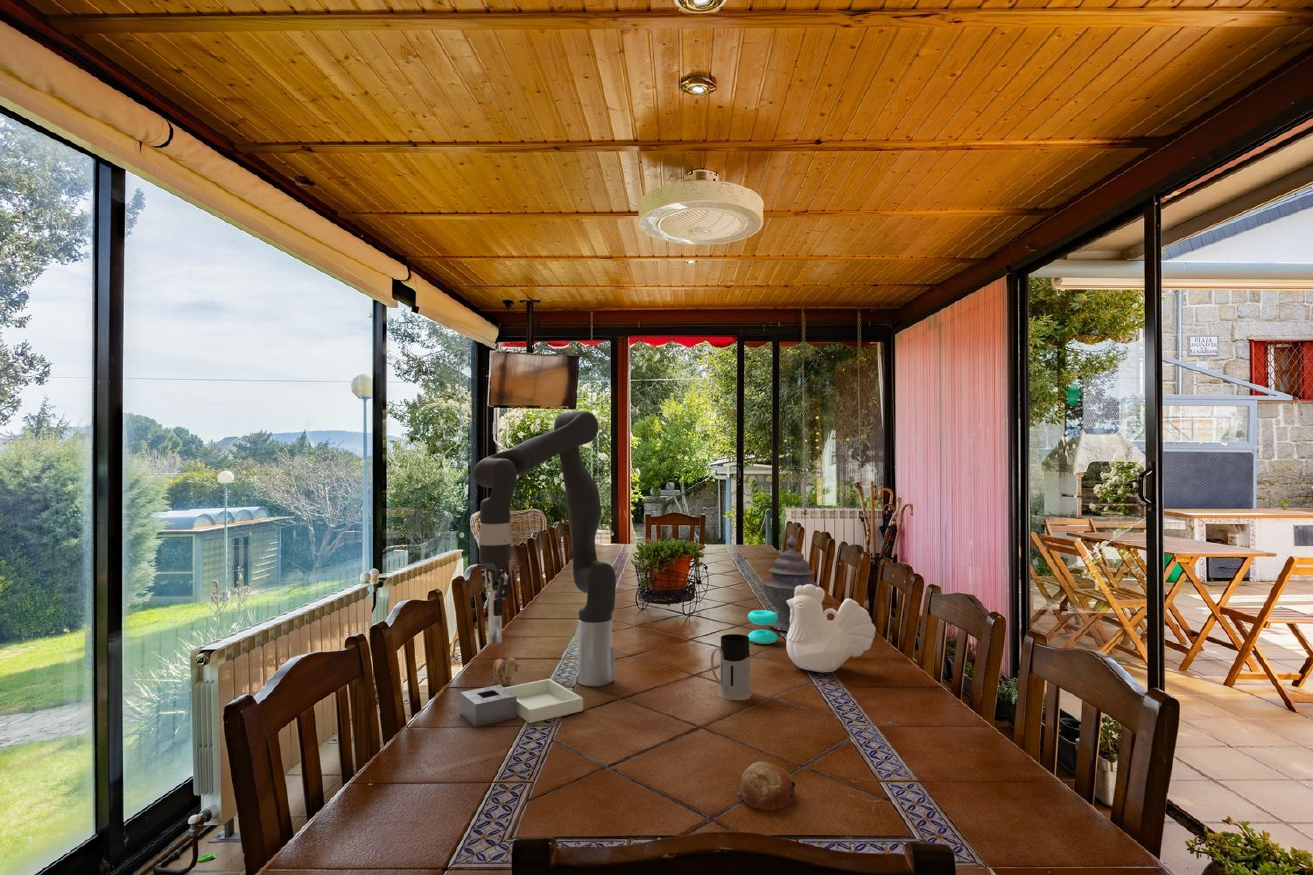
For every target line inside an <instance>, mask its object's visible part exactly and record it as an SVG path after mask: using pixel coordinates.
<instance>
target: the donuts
mask: <svg viewBox="0 0 1313 875" xmlns="http://www.w3.org/2000/svg"><path fill="white" fill-rule="evenodd" d="M747 618H748V620H749V621H750V623H752V624H754V625H761V626H769V625H770V624H773V623H775V622H776V621H777V619H778V613H776V612H774V611H772V610H766V609H757V610H752V611H750V612H749V613H748V615H747ZM747 636H748V637H749V640H750V641H754V642H761V643H766V642H774V641H776V640H777V639H779V637H778V635H777V633H775V632H774V631H773V630H770V629H755V630H752V631H750V632H749V633H748V635H747ZM750 641H749V642H750ZM777 641H778V640H777Z"/></svg>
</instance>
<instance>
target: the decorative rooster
mask: <svg viewBox="0 0 1313 875" xmlns="http://www.w3.org/2000/svg"><path fill="white" fill-rule="evenodd" d="M825 592H826V591H825V590H824V589H823V588H822V587H820V586H819V587H816V586H814V585H812V584H807V585H804V586H802V585H799V586H797V587H796V588H795V596H794V598H792V599H789V600H787V601H786V602H787V604H788V605H789V607H790V608H791V609H790V624H791V625H790V628H789V631H788V632H787V634H786V637H785V638H786V643H785V644H786V646H785V647H786V652H787V654H788V657H789V658H790V660H791V662H793V664H795V665H796V666H797V667H798V668H800V669H802V670H805V671H807V670H808V671H812V672H818V673H824V672H825V673H824V674H827V673H826V672H832V671H834V672H835V671H836V670H838V669H839V668H840V667H841V666H842V665H843V664H844V663H845V662H846V661H847V660H848V659H849V658H850V657H852V658H853V657H855V658H857V657H858V658H859V657H861V656H862V655H863V654H864V652H867V651H869V650H870V649H871V647H872V644H873V640H874V638H875V634H876V633H875V632H876V626H875V625H874V623H872V618H871V616H870V613H869V612H868V610H867V609H865V608H863V607H862V606H861V605H860V604H859V602H857V601H855V600H853V599H852V598H845V599H844V600H843V602H842V603H841V605H840V606H839V608H838V610H835V609H834V608H832V607H831V608H826V609H825V610H823V604H822V602H823V600H824V598H825V594H826V593H825ZM829 614H832V615H833V616H834V618H833V619H832V620H830V619H828V615H829ZM832 673H833V672H832Z"/></svg>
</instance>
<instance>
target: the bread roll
mask: <svg viewBox="0 0 1313 875" xmlns="http://www.w3.org/2000/svg"><path fill="white" fill-rule="evenodd" d="M795 786H797V785H796V782H795V780H793V777H792V776H791V775H790V773H789V772H787V771H786V770H785V769H784V768H782V767H781V766H778V765H776V764H772V763H769V762H766V761H765V762H763V761H756V762H754V763H752V764H750V765H748V767H747V768H745V770H744V772H743V773H742V774H741V781H740V789H739V791H738V794H737V795H738V796H740V798H741V799H742V801H743V800H744V801H743V802H745V804H746V805H747V806H749V808H752V809H756V810H760V811H761V810H762V811H775V810H779V809H778V808H780V809H785V808H787V807H788V806H790V805H791V804H792V803H793V801H795V800H794V799H795V797H796V796H795V795H796V793H795ZM791 802H792V803H791ZM789 804H790V805H789ZM784 807H785V808H784Z"/></svg>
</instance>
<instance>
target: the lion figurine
mask: <svg viewBox="0 0 1313 875" xmlns="http://www.w3.org/2000/svg"><path fill="white" fill-rule="evenodd" d="M492 666H493V667H492V676H491V677H490V679H492V682H491V684H490V686H495V685H497V682H496V681H497V680H498V685H501V686H503V682H506V686H505V687H510V685H511V681H512V679H513V677H514V676H515V674H516V673H518V674H519V673H520V670H521V668H522V665H520V664H518V662H516V658H514V657H508V658H505V659H502V658H498V659H496V660H495V661H494V663H493V665H492ZM496 676H497V677H498V679H497V677H496ZM496 679H497V680H496Z"/></svg>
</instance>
